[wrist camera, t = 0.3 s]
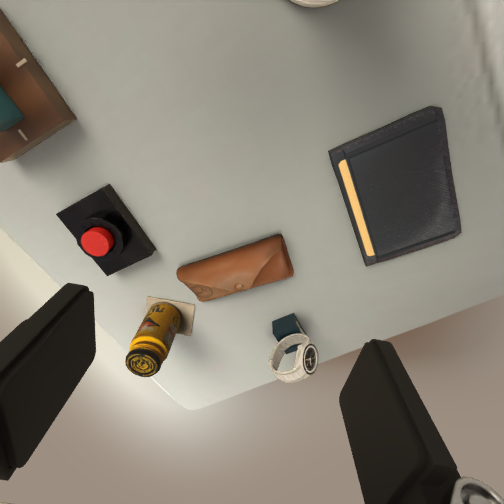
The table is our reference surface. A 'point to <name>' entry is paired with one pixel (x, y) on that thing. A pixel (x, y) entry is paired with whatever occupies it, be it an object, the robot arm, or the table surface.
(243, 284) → the sunglasses case
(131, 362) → the condiment
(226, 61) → the table surface
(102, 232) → the button
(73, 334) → the robot arm
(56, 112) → the base
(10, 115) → the teal rectangular block
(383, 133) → the wallet
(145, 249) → the button box
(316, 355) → the watch
